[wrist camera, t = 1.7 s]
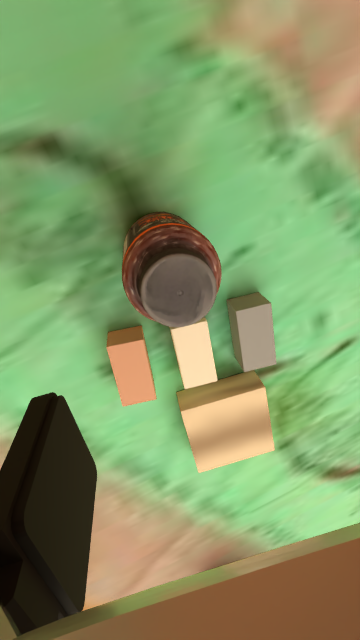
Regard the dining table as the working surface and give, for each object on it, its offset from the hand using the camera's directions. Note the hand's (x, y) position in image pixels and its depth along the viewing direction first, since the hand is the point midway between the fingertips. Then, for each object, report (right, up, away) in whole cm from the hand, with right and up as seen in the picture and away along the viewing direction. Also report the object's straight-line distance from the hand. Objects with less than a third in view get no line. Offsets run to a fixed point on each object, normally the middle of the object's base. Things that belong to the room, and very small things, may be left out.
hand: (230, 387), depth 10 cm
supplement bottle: (-3, +8, +18) cm, 20 cm away
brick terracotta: (-6, -1, +21) cm, 22 cm away
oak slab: (+3, -8, +25) cm, 26 cm away
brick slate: (+5, +2, +22) cm, 22 cm away
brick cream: (-1, 0, +21) cm, 21 cm away
